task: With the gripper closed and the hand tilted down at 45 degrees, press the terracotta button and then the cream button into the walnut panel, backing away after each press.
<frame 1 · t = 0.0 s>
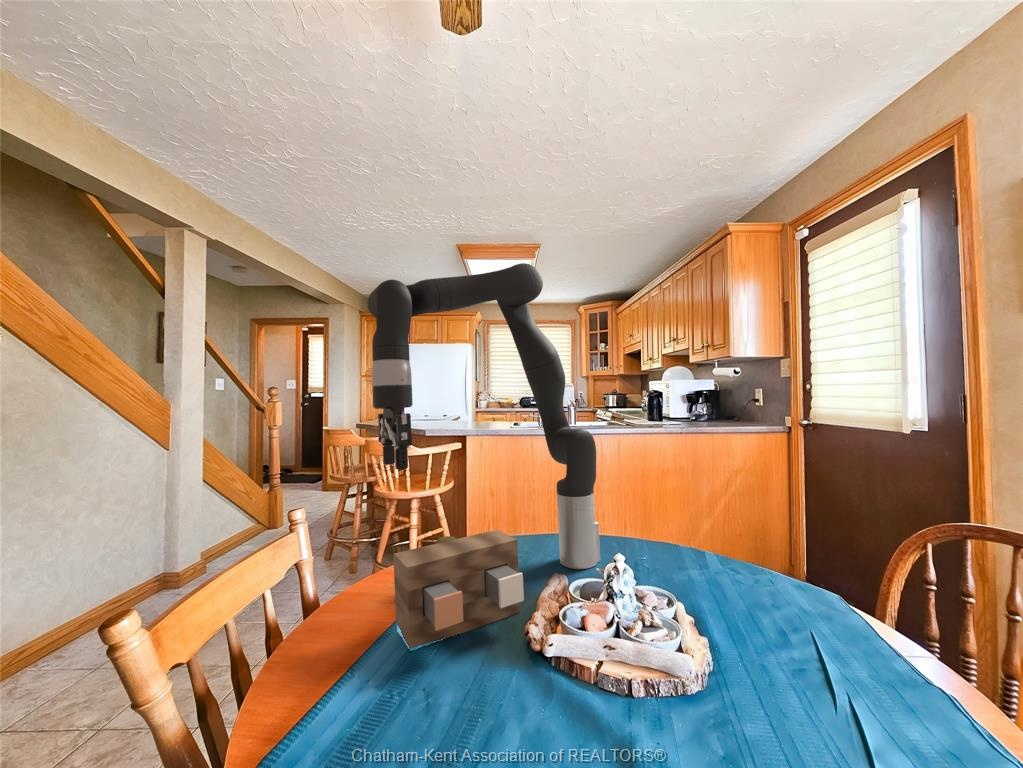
hand: (395, 466, 83), 29 cm above the table, tool pointing down, fingers open, 8 cm apart
cream button: (499, 582, 79), point 8 cm above the table, slide at 0.0 cm
walnut panel: (460, 621, 80), on the table
cork: (448, 588, 95), on the table
terracotta button: (439, 600, 73), point 8 cm above the table, slide at 0.0 cm
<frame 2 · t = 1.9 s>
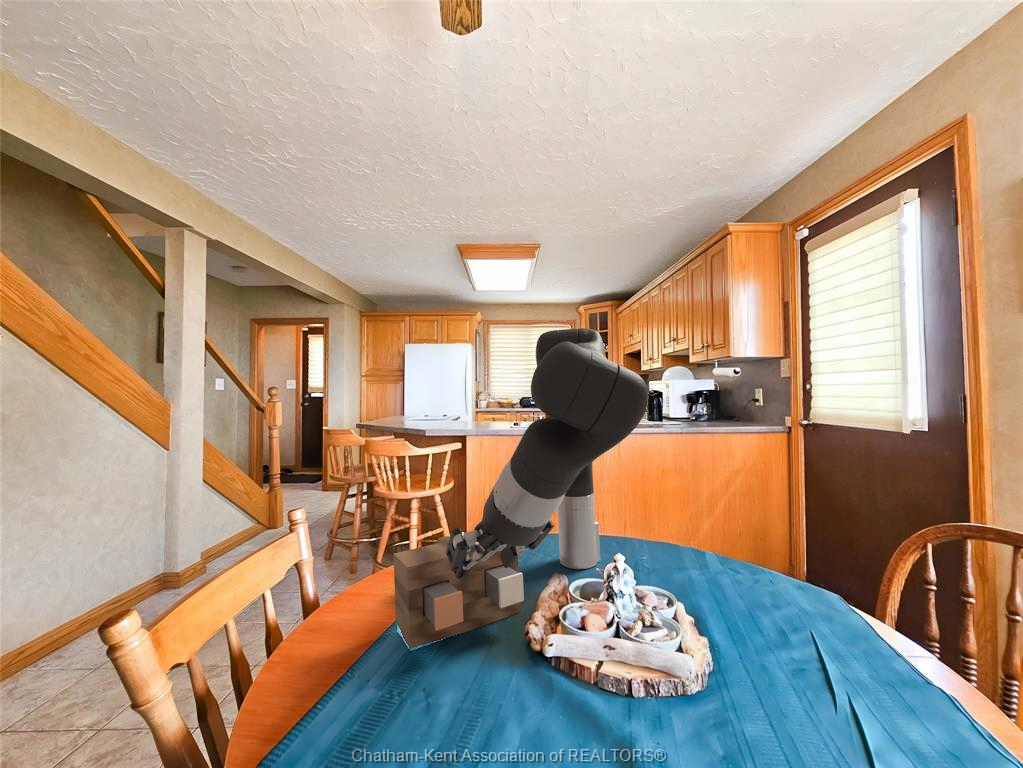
hand: (482, 567, 59), 18 cm above the table, tool tilted 45°, fingers open, 6 cm apart
nothing on the table moved.
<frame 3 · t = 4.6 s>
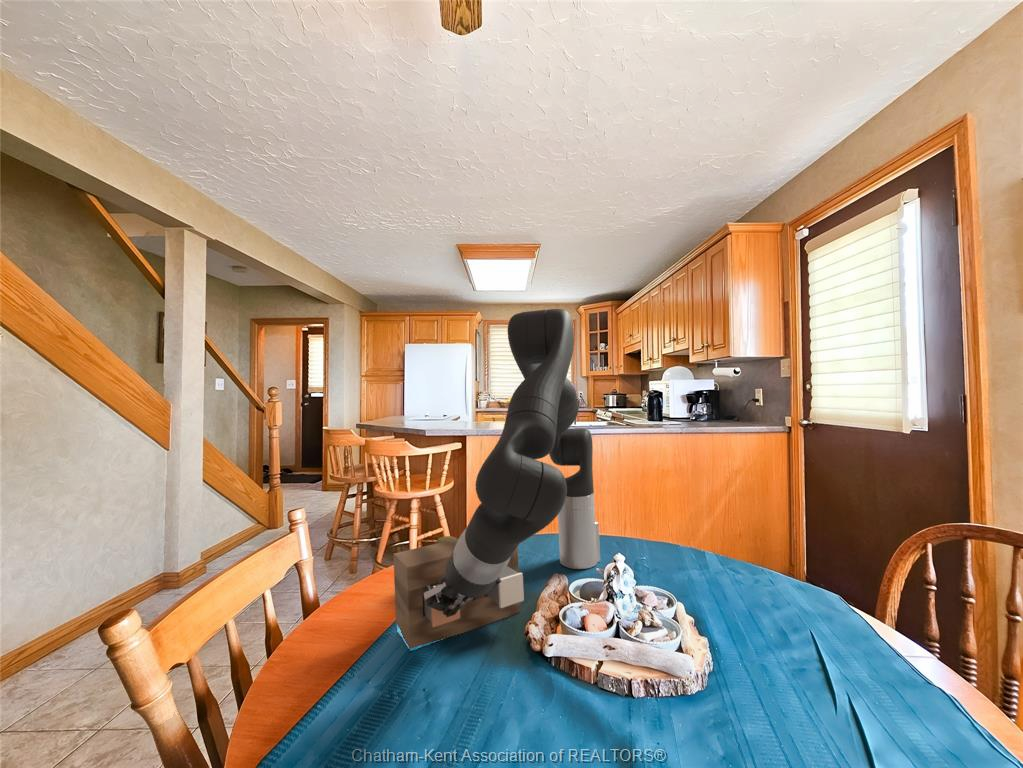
hand: (448, 610, 70), 7 cm above the table, tool tilted 45°, fingers closed
terracotta button: (436, 598, 74), point 8 cm above the table, slide at 1.2 cm, touching gripper
everything else where it was.
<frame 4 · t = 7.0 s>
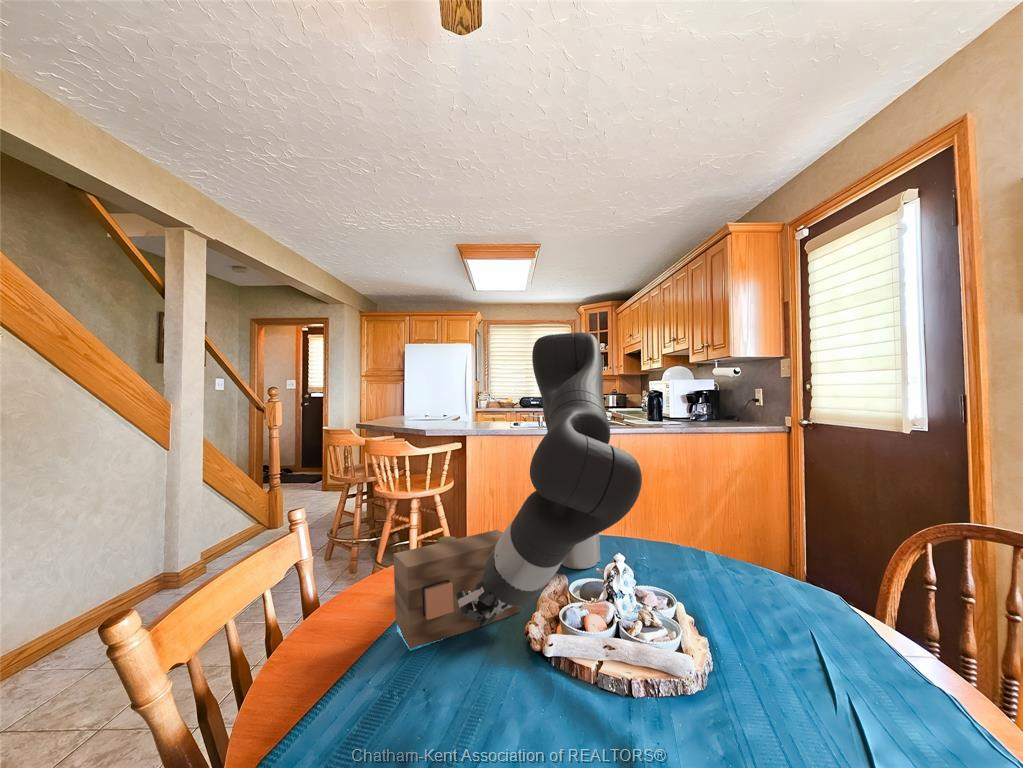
hand: (482, 618, 61), 10 cm above the table, tool tilted 45°, fingers closed
terracotta button: (431, 592, 76), point 8 cm above the table, slide at 4.0 cm
everything else where it was.
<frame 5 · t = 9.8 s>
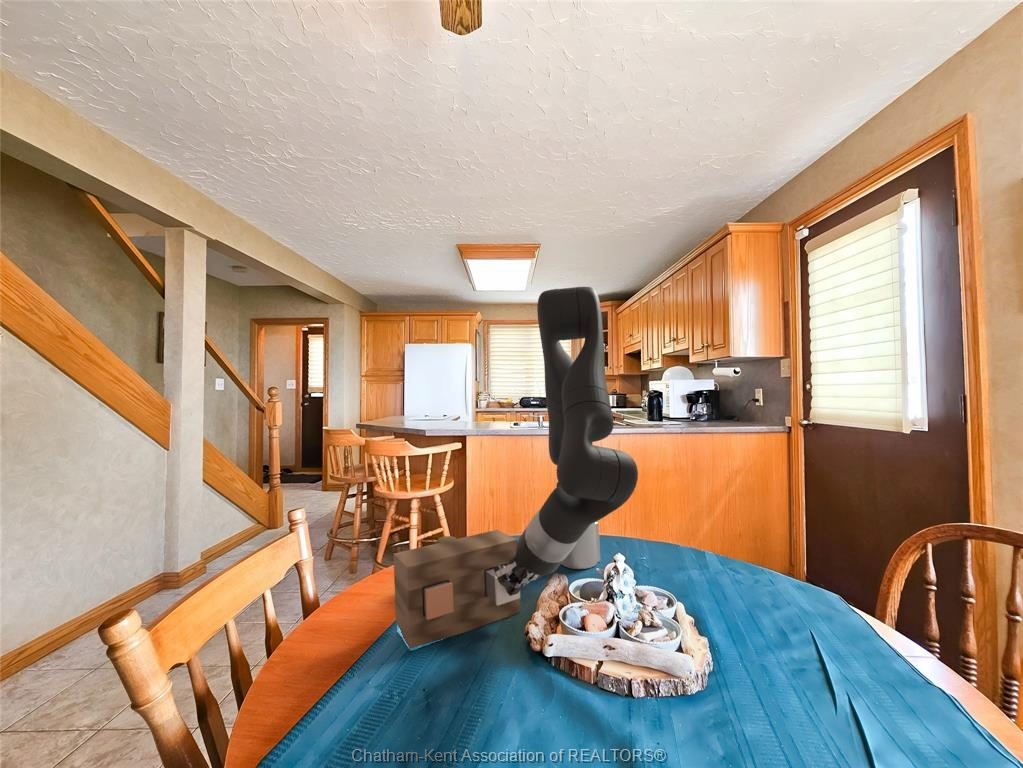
hand: (510, 589, 76), 7 cm above the table, tool tilted 45°, fingers closed
cream button: (496, 580, 80), point 8 cm above the table, slide at 1.2 cm, touching gripper
everything else where it was.
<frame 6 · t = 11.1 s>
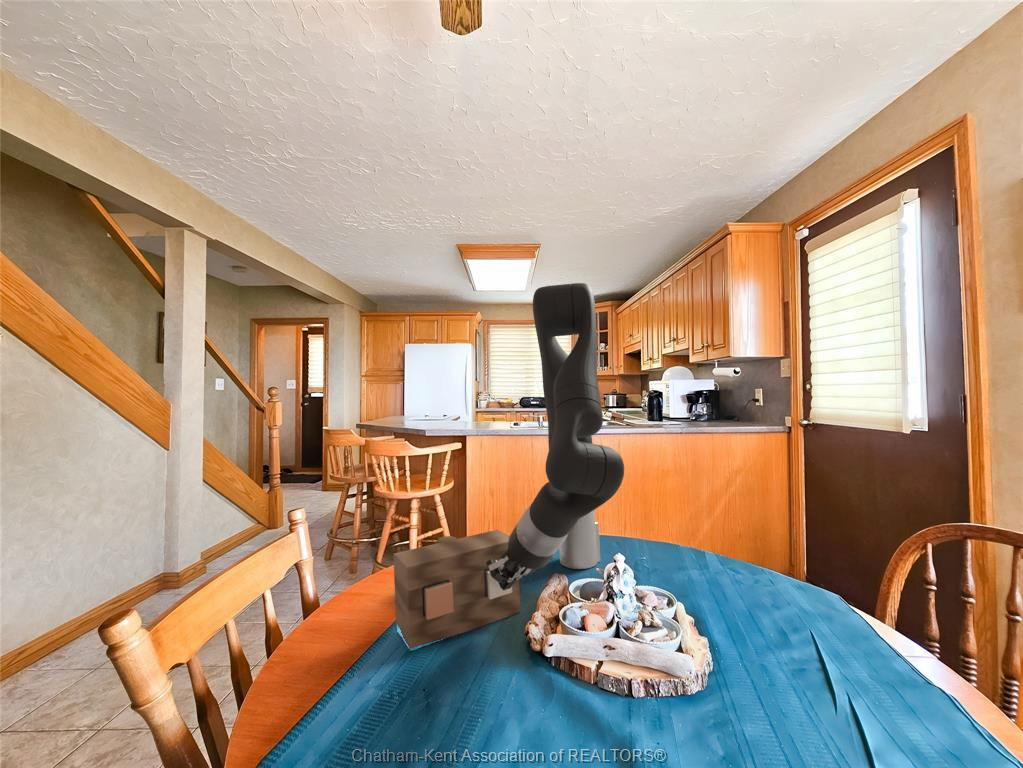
hand: (503, 584, 78), 8 cm above the table, tool tilted 45°, fingers closed
cream button: (489, 575, 82), point 8 cm above the table, slide at 4.0 cm
everything else where it was.
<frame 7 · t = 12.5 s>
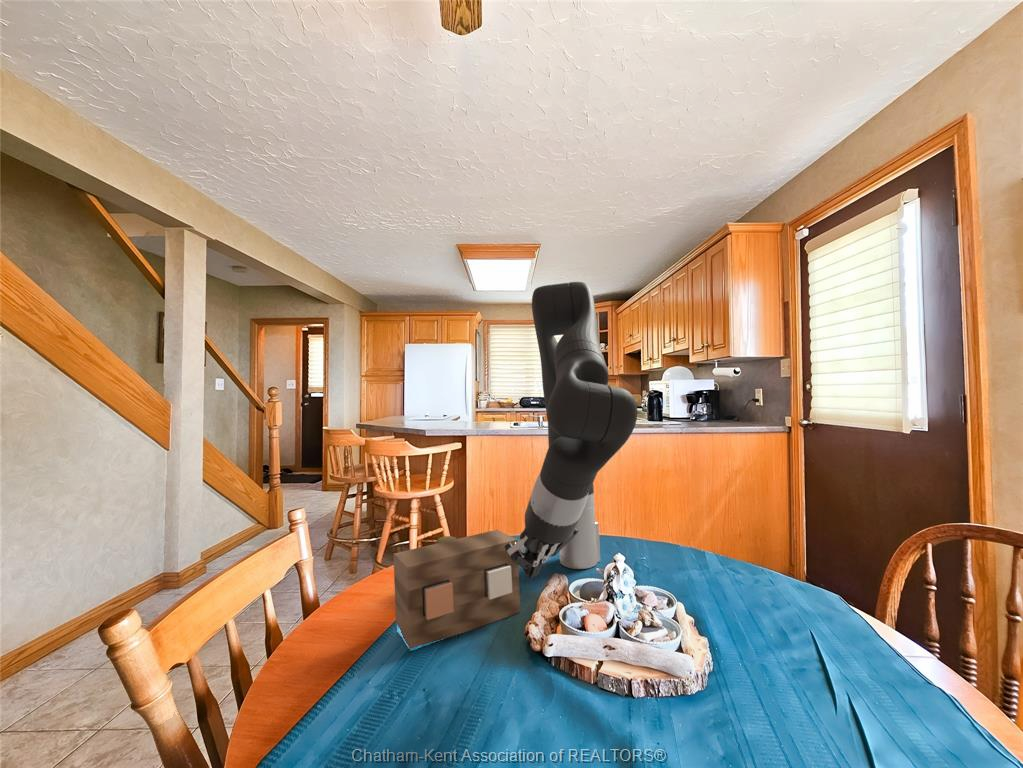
hand: (530, 571, 69), 13 cm above the table, tool tilted 40°, fingers closed
nothing on the table moved.
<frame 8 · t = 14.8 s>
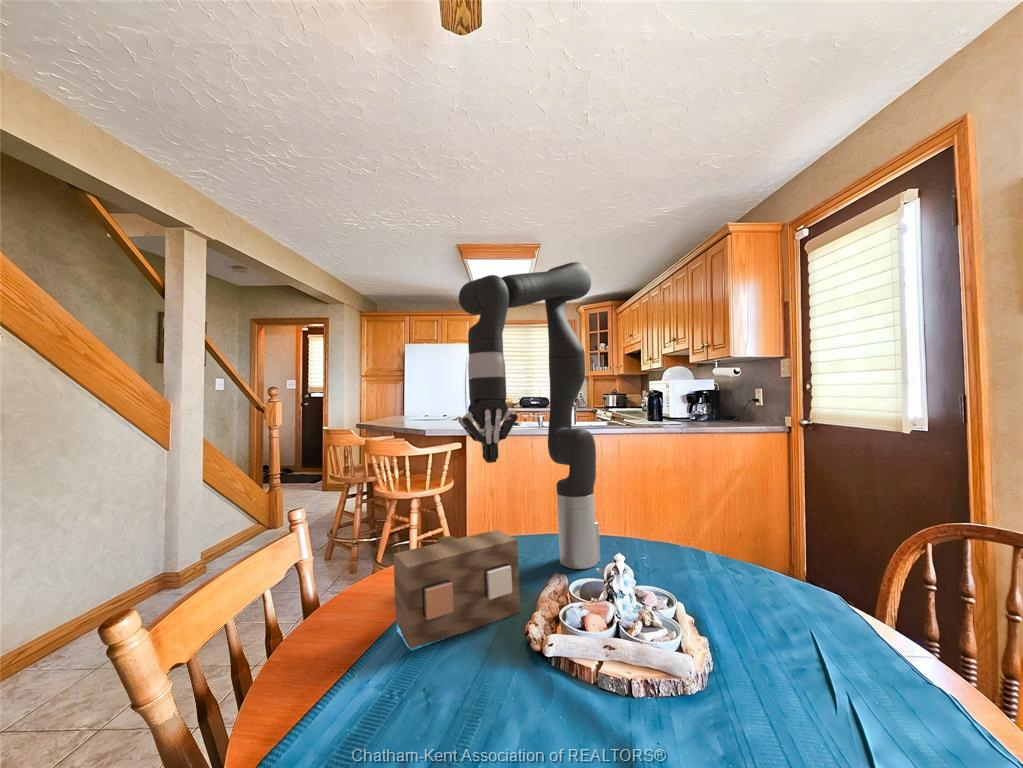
hand: (490, 462, 85), 29 cm above the table, tool pointing down, fingers closed
nothing on the table moved.
at the end: terracotta button slide at 4.0 cm; cream button slide at 4.0 cm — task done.
